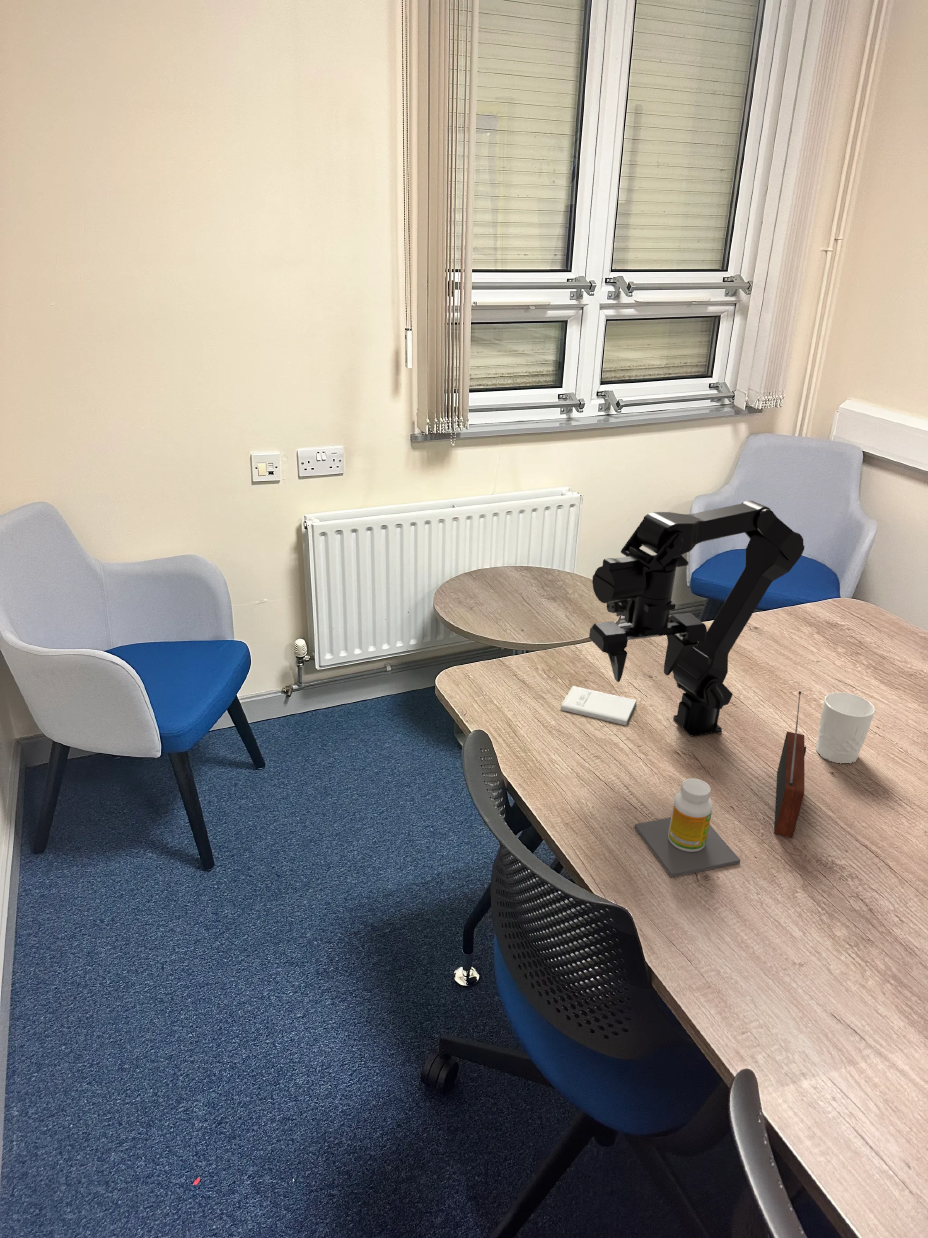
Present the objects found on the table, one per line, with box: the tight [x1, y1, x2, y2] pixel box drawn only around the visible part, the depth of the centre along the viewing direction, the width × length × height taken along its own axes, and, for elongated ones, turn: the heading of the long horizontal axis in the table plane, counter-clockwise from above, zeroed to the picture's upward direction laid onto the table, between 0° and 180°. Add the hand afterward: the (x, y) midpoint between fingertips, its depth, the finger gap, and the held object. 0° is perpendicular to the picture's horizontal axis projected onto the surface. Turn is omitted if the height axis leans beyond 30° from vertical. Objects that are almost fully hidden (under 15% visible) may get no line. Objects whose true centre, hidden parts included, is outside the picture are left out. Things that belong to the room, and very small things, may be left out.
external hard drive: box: [560, 685, 638, 726], centre depth 156 cm, size 2×8×12 cm
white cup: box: [815, 691, 876, 765], centre depth 143 cm, size 8×8×10 cm
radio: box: [773, 691, 807, 839], centre depth 129 cm, size 19×3×15 cm, turn 160°
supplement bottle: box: [668, 777, 714, 852], centre depth 120 cm, size 5×5×10 cm
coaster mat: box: [633, 817, 741, 878], centre depth 122 cm, size 11×11×1 cm
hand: (641, 677), depth 140 cm, fingers open, 9 cm apart
